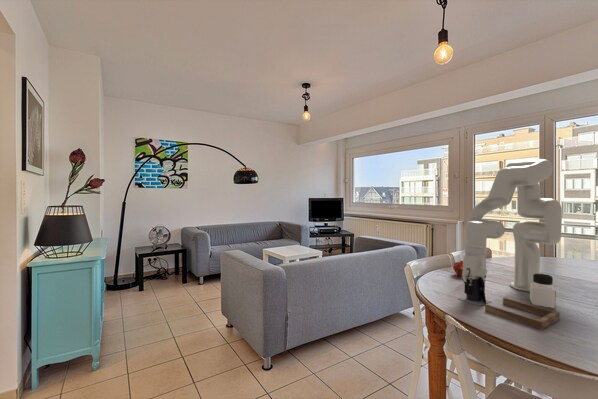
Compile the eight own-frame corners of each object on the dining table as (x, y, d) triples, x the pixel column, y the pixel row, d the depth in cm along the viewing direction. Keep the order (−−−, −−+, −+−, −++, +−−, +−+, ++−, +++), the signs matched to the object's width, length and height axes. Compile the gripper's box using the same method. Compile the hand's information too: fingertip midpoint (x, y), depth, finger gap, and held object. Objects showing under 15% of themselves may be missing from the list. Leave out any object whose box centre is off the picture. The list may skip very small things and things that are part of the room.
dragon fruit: (466, 276, 163) (461, 284, 154) (452, 265, 167) (446, 272, 158) (476, 265, 159) (472, 273, 150) (462, 255, 162) (457, 262, 154)
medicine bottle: (555, 308, 114) (556, 278, 114) (532, 304, 118) (533, 275, 118) (551, 302, 120) (552, 273, 120) (529, 299, 124) (530, 271, 124)
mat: (469, 295, 129) (469, 294, 129) (491, 301, 121) (491, 301, 121) (457, 298, 124) (457, 298, 124) (479, 306, 116) (479, 305, 116)
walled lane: (504, 303, 120) (504, 297, 119) (559, 319, 104) (559, 312, 104) (485, 310, 112) (485, 304, 112) (541, 329, 97) (541, 322, 97)
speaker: (488, 299, 122) (485, 274, 122) (486, 304, 118) (483, 278, 118) (467, 297, 127) (465, 273, 127) (465, 301, 123) (462, 276, 123)
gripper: (477, 247, 130) (476, 286, 130) (454, 251, 121) (453, 293, 121) (496, 250, 123) (495, 291, 124) (473, 254, 114) (472, 299, 115)
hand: (474, 292), depth 122 cm, fingers open, 8 cm apart
